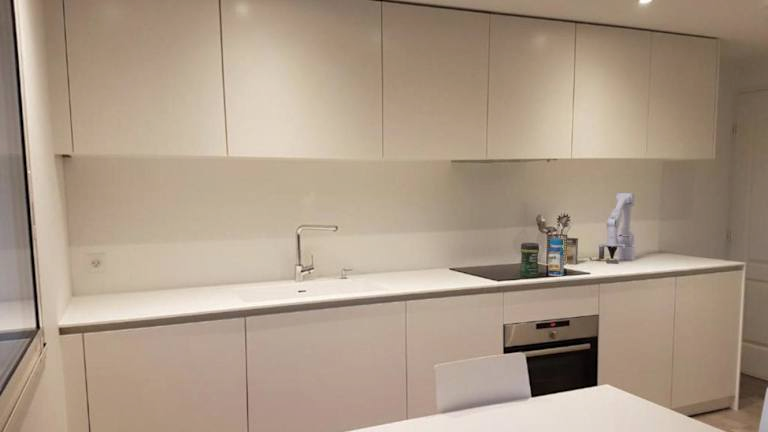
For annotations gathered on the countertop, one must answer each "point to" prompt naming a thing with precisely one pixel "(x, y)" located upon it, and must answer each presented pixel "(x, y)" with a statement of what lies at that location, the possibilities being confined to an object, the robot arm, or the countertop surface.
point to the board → (597, 259)
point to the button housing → (612, 261)
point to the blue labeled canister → (556, 258)
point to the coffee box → (572, 250)
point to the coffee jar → (529, 260)
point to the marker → (601, 252)
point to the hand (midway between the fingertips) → (611, 258)
